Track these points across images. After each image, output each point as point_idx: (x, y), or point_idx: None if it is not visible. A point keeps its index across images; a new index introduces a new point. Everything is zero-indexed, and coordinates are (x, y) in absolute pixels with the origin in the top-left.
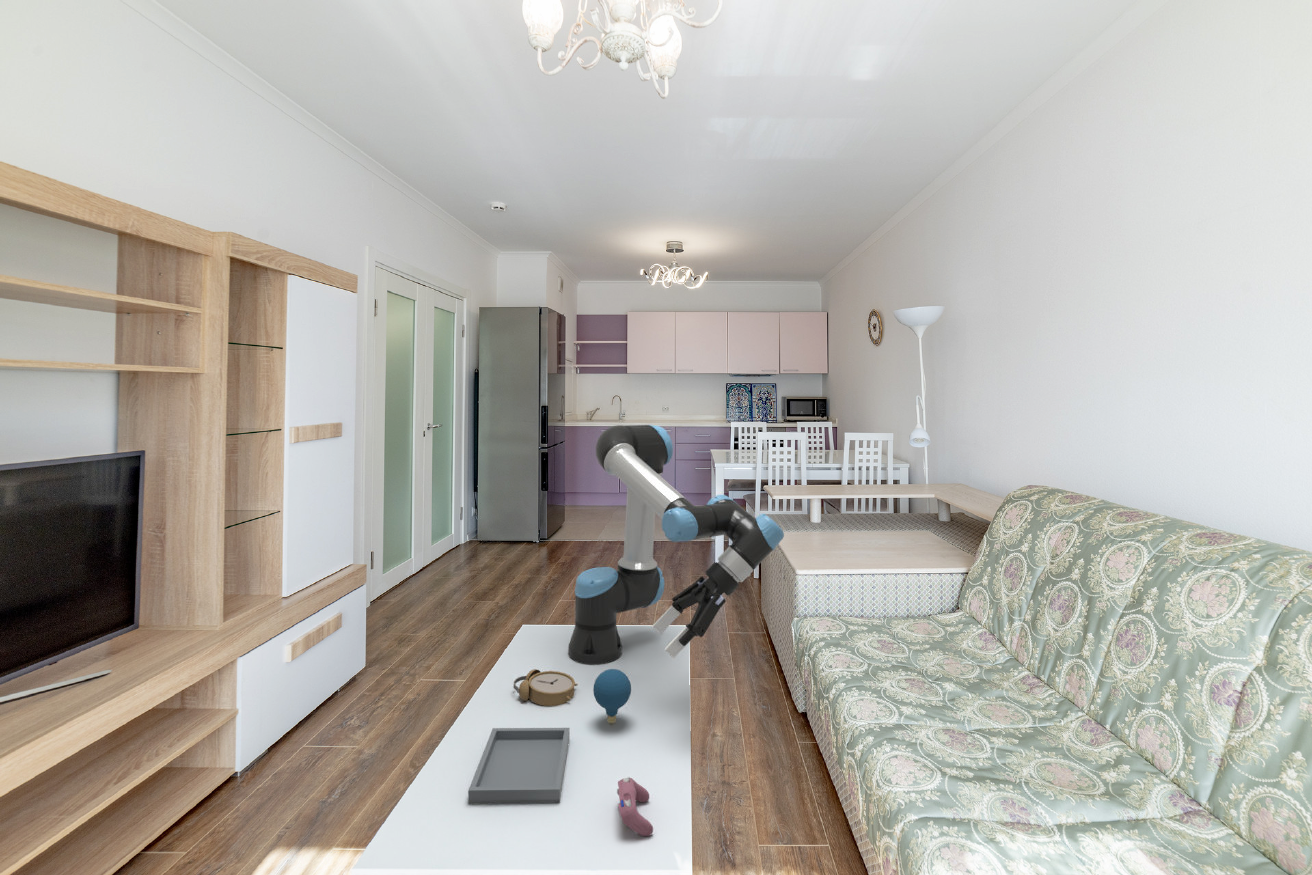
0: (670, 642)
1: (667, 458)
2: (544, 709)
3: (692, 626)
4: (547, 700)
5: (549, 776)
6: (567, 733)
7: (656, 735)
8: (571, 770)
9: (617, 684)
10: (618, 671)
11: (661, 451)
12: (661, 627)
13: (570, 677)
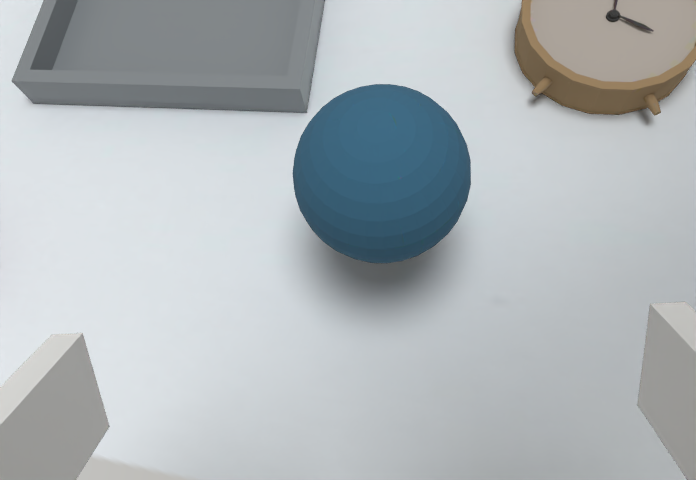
0: (41, 380)
1: None
2: (493, 36)
3: None
4: (518, 27)
5: (124, 71)
6: (266, 85)
7: (281, 396)
8: (151, 124)
9: (304, 165)
10: (375, 155)
11: None
12: (666, 401)
13: (670, 71)
